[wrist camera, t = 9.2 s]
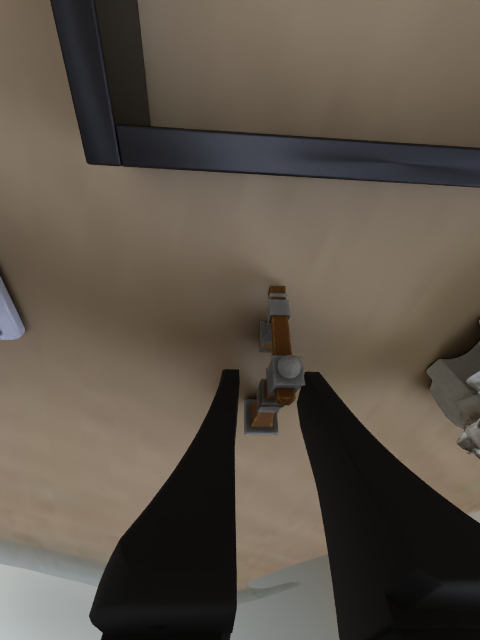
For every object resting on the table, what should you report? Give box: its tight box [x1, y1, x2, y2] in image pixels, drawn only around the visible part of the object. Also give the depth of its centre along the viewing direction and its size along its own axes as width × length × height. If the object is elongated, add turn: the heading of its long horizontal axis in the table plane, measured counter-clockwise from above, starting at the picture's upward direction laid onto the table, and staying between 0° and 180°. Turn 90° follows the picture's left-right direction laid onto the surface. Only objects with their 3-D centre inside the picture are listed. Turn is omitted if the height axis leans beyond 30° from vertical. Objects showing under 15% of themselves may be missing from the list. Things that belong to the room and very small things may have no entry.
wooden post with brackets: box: [244, 286, 305, 435], centre depth 12 cm, size 2×8×4 cm, turn 177°
